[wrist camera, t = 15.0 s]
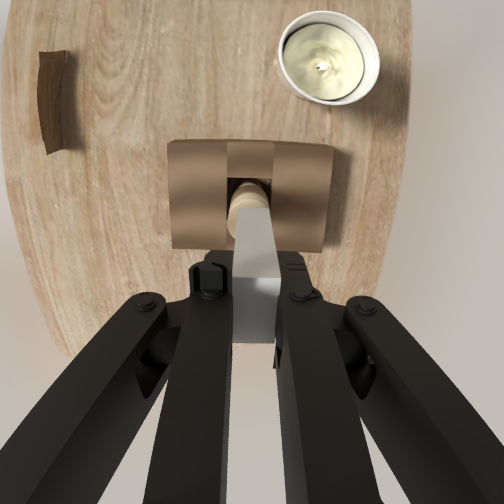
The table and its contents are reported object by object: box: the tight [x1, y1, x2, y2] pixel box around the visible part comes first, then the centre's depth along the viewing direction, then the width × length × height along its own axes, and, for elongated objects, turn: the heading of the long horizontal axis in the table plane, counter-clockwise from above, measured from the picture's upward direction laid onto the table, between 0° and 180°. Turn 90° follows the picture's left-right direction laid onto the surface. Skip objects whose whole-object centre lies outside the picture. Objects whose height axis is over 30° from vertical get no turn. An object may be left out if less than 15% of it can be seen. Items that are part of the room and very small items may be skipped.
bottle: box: [227, 178, 272, 239], centre depth 36 cm, size 4×4×12 cm
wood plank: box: [37, 50, 66, 155], centre depth 32 cm, size 15×2×5 cm, turn 0°
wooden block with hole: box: [167, 139, 334, 253], centre depth 40 cm, size 14×20×4 cm
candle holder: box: [276, 11, 380, 105], centre depth 29 cm, size 10×10×12 cm
